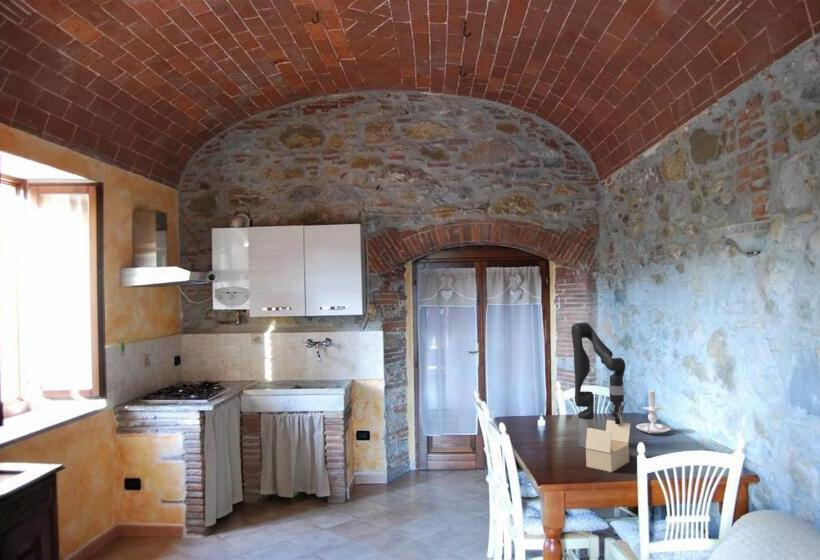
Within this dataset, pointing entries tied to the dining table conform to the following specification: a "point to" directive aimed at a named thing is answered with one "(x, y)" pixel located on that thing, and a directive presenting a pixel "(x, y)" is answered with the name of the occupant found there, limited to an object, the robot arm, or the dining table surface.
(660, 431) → the candlestick
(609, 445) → the front flap
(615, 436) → the back flap
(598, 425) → the dining table surface
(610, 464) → the carton
